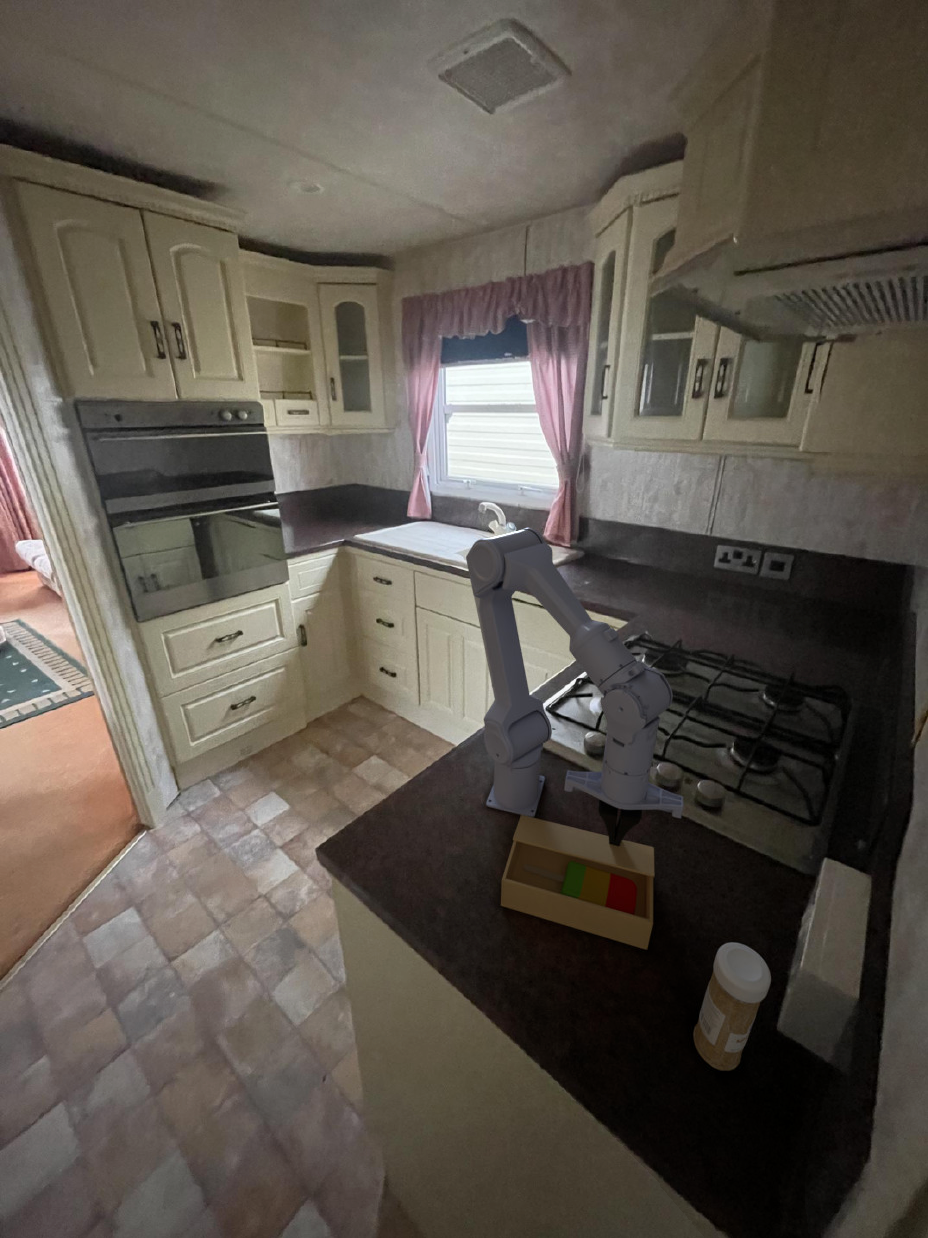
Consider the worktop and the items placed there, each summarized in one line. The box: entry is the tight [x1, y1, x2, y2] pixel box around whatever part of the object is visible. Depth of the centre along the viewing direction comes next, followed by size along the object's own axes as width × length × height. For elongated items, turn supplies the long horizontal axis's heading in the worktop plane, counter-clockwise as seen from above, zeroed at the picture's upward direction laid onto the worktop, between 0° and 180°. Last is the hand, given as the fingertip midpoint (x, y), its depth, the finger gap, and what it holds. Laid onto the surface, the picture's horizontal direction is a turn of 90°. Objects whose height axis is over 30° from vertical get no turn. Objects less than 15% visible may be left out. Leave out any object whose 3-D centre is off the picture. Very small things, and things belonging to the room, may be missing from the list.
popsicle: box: [523, 861, 637, 915], centre depth 69 cm, size 6×15×2 cm, turn 68°
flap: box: [512, 815, 656, 878], centre depth 69 cm, size 5×18×1 cm, turn 71°
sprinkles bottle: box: [692, 942, 772, 1072], centre depth 50 cm, size 5×5×14 cm
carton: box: [500, 840, 654, 951], centre depth 68 cm, size 11×18×5 cm, turn 71°
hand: (614, 839), depth 70 cm, fingers closed
